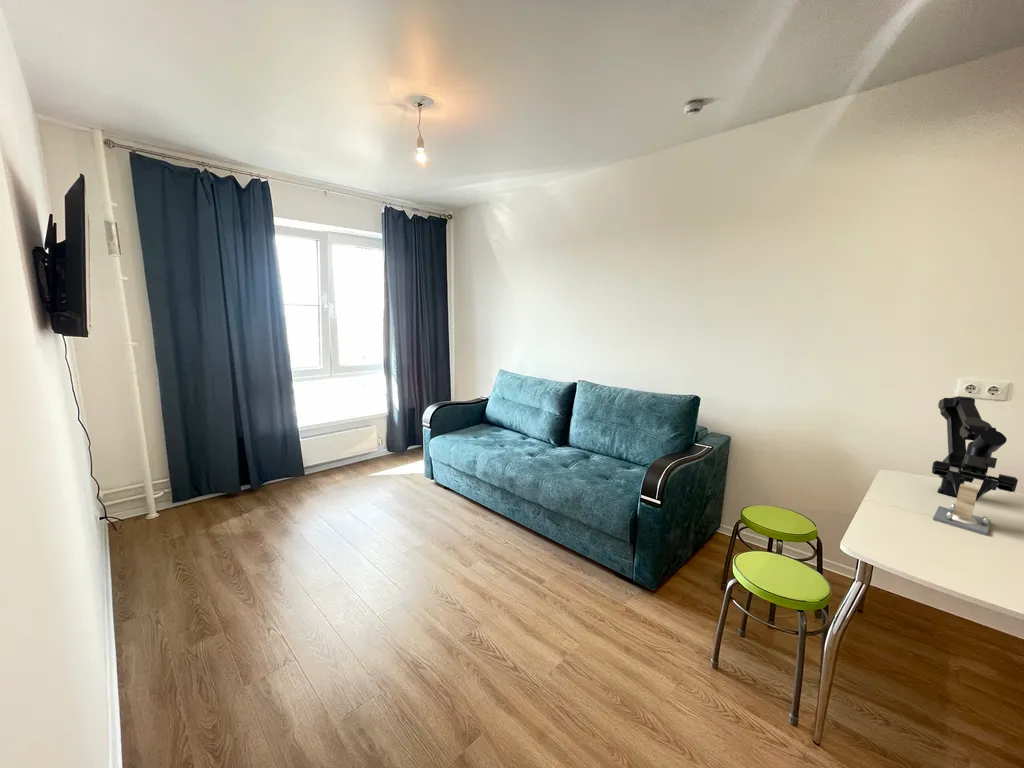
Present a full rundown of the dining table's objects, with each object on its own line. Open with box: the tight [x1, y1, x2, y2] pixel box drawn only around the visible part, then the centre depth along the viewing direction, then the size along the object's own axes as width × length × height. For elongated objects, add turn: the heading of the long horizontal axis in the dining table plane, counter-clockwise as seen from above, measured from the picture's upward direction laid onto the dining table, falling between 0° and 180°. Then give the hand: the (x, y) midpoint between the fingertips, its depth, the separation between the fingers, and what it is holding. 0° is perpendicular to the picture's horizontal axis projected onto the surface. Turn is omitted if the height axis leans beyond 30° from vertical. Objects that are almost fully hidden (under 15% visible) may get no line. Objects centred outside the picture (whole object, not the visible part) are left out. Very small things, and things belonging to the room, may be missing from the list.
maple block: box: [953, 483, 980, 519], centre depth 135 cm, size 4×4×10 cm
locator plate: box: [932, 503, 991, 536], centre depth 136 cm, size 12×12×4 cm
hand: (966, 497), depth 134 cm, fingers closed on maple block, 4 cm apart
